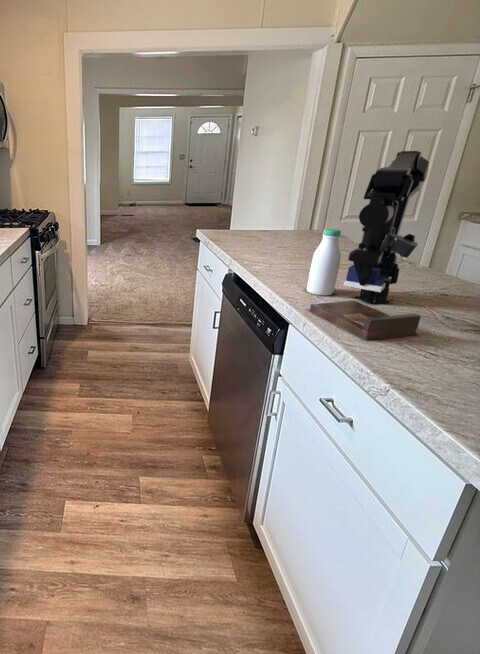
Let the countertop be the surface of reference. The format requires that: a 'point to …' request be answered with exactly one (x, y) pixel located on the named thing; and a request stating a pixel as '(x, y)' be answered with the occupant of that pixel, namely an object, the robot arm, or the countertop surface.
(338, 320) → the brown wooden tray
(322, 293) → the milk bottle
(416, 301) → the countertop surface
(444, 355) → the countertop surface
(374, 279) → the navy white-based block
